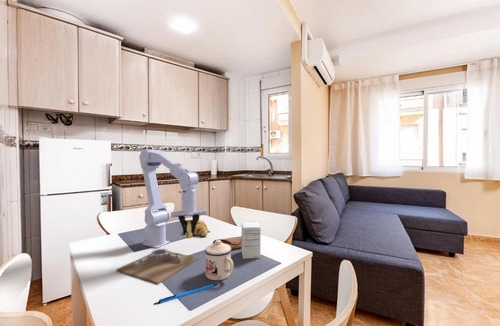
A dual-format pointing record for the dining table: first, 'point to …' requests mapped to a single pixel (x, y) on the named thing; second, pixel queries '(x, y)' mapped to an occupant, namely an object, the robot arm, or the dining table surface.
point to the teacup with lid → (218, 261)
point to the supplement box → (251, 240)
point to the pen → (184, 294)
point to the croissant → (201, 228)
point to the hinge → (158, 257)
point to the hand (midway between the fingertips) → (188, 233)
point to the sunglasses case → (232, 242)
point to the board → (157, 268)
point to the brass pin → (188, 228)
